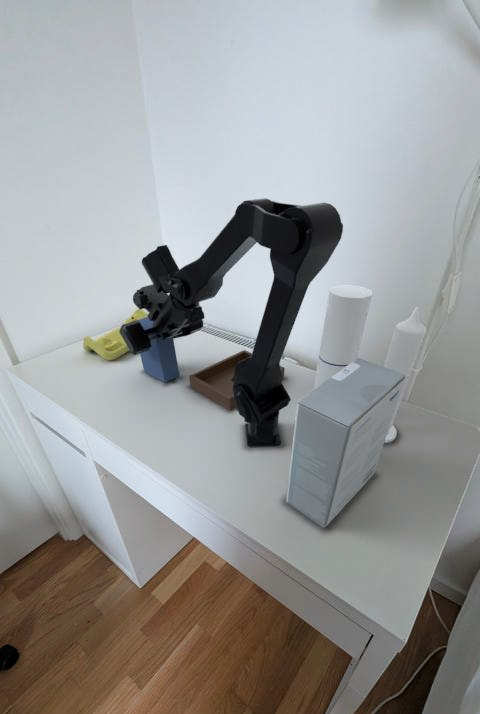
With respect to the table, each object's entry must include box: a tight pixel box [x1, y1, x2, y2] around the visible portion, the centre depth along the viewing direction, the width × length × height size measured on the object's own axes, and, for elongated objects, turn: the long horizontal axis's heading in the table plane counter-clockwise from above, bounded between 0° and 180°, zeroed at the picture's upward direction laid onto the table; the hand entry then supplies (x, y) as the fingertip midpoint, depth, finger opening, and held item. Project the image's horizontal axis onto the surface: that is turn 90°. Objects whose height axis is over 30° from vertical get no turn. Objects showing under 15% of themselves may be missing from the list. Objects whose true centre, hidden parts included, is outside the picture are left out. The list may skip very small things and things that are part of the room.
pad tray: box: [188, 349, 286, 411], centre depth 81 cm, size 19×14×3 cm
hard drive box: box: [285, 357, 405, 529], centre depth 50 cm, size 16×8×20 cm, turn 136°
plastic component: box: [82, 308, 149, 361], centre depth 97 cm, size 20×7×10 cm
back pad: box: [137, 317, 180, 383], centre depth 81 cm, size 9×4×13 cm, turn 46°
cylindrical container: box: [313, 284, 373, 390], centre depth 65 cm, size 7×7×25 cm
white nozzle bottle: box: [383, 306, 427, 444], centre depth 60 cm, size 7×7×25 cm
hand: (152, 343), depth 81 cm, fingers open, 9 cm apart
